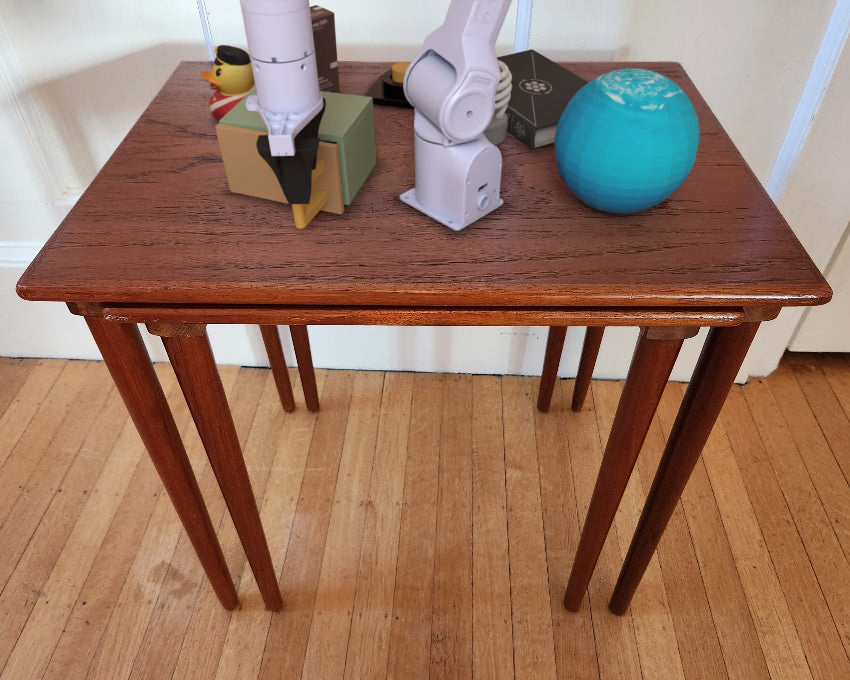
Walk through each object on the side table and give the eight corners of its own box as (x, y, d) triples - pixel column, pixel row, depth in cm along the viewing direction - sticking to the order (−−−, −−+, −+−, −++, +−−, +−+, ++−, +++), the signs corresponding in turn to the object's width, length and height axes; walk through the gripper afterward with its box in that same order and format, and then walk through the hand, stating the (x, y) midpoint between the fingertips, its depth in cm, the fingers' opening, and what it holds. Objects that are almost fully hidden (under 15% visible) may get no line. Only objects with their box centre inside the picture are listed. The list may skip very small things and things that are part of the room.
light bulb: (456, 162, 85) (459, 66, 77) (468, 141, 89) (471, 48, 81) (501, 168, 84) (508, 72, 76) (510, 147, 88) (518, 53, 80)
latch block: (444, 87, 101) (445, 69, 99) (430, 111, 96) (430, 91, 94) (381, 80, 103) (380, 62, 101) (363, 103, 98) (362, 84, 96)
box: (310, 111, 96) (298, 22, 88) (291, 101, 98) (278, 14, 90) (343, 98, 99) (335, 11, 91) (324, 89, 101) (314, 3, 93)
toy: (208, 110, 97) (190, 38, 90) (282, 98, 99) (271, 27, 92) (217, 139, 90) (199, 64, 83) (296, 125, 93) (285, 51, 86)
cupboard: (349, 205, 79) (342, 136, 73) (234, 188, 81) (219, 120, 75) (376, 163, 85) (372, 96, 80) (270, 148, 88) (258, 84, 82)
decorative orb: (534, 173, 83) (548, 48, 73) (653, 166, 84) (684, 42, 74) (563, 245, 73) (585, 111, 62) (700, 236, 74) (744, 103, 63)
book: (447, 88, 101) (448, 68, 99) (530, 68, 106) (532, 48, 104) (530, 150, 87) (533, 129, 85) (621, 124, 92) (625, 103, 90)
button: (420, 75, 99) (419, 63, 98) (413, 85, 96) (412, 73, 95) (396, 72, 100) (395, 60, 98) (388, 82, 97) (388, 70, 96)
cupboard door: (317, 245, 73) (307, 176, 67) (200, 219, 76) (181, 151, 71) (344, 211, 77) (337, 144, 72) (233, 188, 81) (218, 123, 75)
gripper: (249, 23, 65) (272, 152, 75) (221, 86, 55) (252, 227, 64) (323, 21, 65) (337, 151, 75) (309, 84, 55) (326, 225, 64)
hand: (302, 186), depth 70 cm, fingers open, 5 cm apart
